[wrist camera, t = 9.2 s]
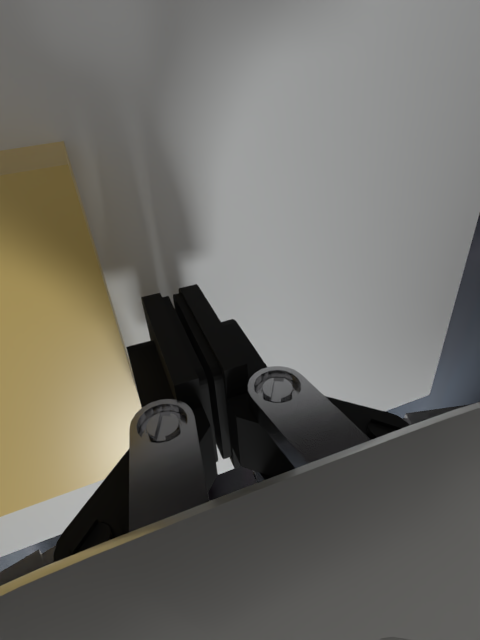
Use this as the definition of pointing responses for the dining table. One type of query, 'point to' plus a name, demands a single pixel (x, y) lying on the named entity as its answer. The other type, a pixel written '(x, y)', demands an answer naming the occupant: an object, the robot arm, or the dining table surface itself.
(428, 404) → the dining table surface
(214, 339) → the robot arm
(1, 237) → the ochre panel
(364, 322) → the overhang dock
